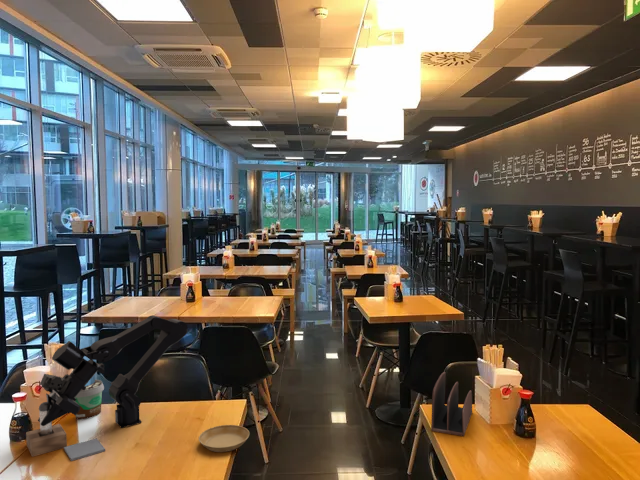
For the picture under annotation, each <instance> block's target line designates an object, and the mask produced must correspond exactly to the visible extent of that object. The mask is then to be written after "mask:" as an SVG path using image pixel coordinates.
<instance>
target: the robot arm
mask: <svg viewBox="0 0 640 480" xmlns="http://www.w3.org/2000/svg"><path fill="white" fill-rule="evenodd" d="M156 329H157V330H160V332H159V336H158V338H157V339H156V341H154V343H153V344H152V345H150V347H149V348H148V350H147V351H146V352H145V353H144V354H143V356H142V357H141V358H140V359H139V360H138V361H137V363H136V364H135V365H134V366H133V367H132V368H131V370H130V371H128V373H126V374H124V375H123V374H122V373H119V374H118V375H117V377H116V378H115V379H114V380H112V382H110V386H109V389H108V395H109V396H110V398H111V399H113V400H114V401H115V402H116V403H117V404H116V409H115V410H114V416H115V417H114V419H115V423H116V424H117V425H118V426H119V427H120V428H127V427H130V426H134V425H137V424H141V423H142V420H141V419H140V405H141V402H142V399H141V398H140V397H139V396H137V395H136V393H137V392H138V390H139V387H140V384H141V382H142V380H143V379H144V378H145V376H146V375H148V373H149V371H150V370H152V368H153V367H154V365H155V364H156V363H157V362H159V360H160V359H161V358H162V356H164V353H166V352H167V351H168V349H169V348H170V347H171V346H173V345H175V344H176V343H178V342H179V341H180V340H182V339H183V338H184V337H185V336H186V335H187V333H188V325H187V323H186V322H185V321H182V320H180V319H176V318H170V319H167V318H162V317H159V316H156V315H149V316H148V317H147V318H145V319H143V320H141V321H140V322H138V323H136V324H134V325H132V326H131V327H128V328H127V329H125V330H124V331H122V332H119V333H117V334H116V335H113V336H109V337H105V338H101V339H99V340H97V341H94V342H93V343H92V344H91V345H89V346H85V347H82V348H79V347H77V346H76V345H75V344H74V343H73V342H71V341H70V340H69V341H67V342H65V344H62V345H61V346H60V347H59V348H57V349H56V350H55V352H54V353H53V354H52V357H51V359H52V360H53V361H54V362H55V363H57V364H58V365H60V366H61V367H63V368H64V369H66V370H68V371H70V370H72V371H71V373H69V374H68V373H66V374H65V375H64V376H57V375H54V374H53V375H52V374H47V373H44V374H43V376H42V378H41V380H40V383H39V385H40V386H41V387H42V389H43V390H44V391H46V392H48V393H49V394H48V393H46V394H45V396H46V402H49V403H50V404H51V409H50V410H49V412H48V413H47V414H46V416H45V417H44V419H43V420H42V422H41V425H42V426H45V425H47V424H48V423H50V422H54V421H56V420H58V419H60V418H61V417H63V416H65V415H67V414H72V415H73V416H76V414H77V413H78V412H79V411H80V405H79V404H78V403H77V402H75V401H76V400H77V399H76V398H75V397H76V396H77V395H78V393H79V392H80V391H81V390H82V389H83V390H85V389H86V387H85V386H87V384H88V383H89V382H90V381H91V379H92V378H93V377H94V376H95V375H96V374H97V373H98V372H99V373H100V374H102V375H104V374H105V364H104V363H107V362H109V361H110V360H112V359H113V358H114V357H115V356H117V355H118V354H119V353H120V352H121V351H122V349H123V348H125V347H127V346H128V345H130V344H132V343H133V342H135V341H137V340H138V339H140V338H142V337H144V336H146V335H148V334H149V333H151V332H152V331H155V330H156ZM85 358H87V359H88V360H86V359H85ZM96 361H97V362H96ZM98 362H99V363H98ZM37 421H38V422H39V423H40V416H39V417H38V419H37Z"/></svg>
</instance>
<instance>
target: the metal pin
mask: <svg viewBox="0 0 640 480" xmlns="http://www.w3.org/2000/svg"><path fill="white" fill-rule="evenodd" d="M50 409H51V404H50V403H49V402H47V401H43V402H42V403H40V404H39V406H38V411H39V417H40V422H39V429H40V435H41V437H42V436H46V435H50V434H52V426H53V424H52V422H53V421H52V422H50V423H48V424H47V425H45V426H42V425H41V422H42V420H43V419H44V417H45V416H46V414H47V413H48V412H49V410H50Z"/></svg>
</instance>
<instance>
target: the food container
mask: <svg viewBox="0 0 640 480" xmlns="http://www.w3.org/2000/svg"><path fill="white" fill-rule="evenodd" d="M103 383H104V382H103V381H102V380H101V379H94V382H93V383H91V384H89V385H85V387H86V389H85V390H83V389H82V390H81V391H80V392H79V393H78V395H77V396H76V397H75V398H76V399H77V400H76V401H75V402H77V403H78V404H79V405H80V411H79V412H78V413H77V414H76V415H75V420H86V419H91V418H94V417H96V416H99V415H100V414H101V412H102V395H103V391H104V389H105V386H104V384H103Z"/></svg>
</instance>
